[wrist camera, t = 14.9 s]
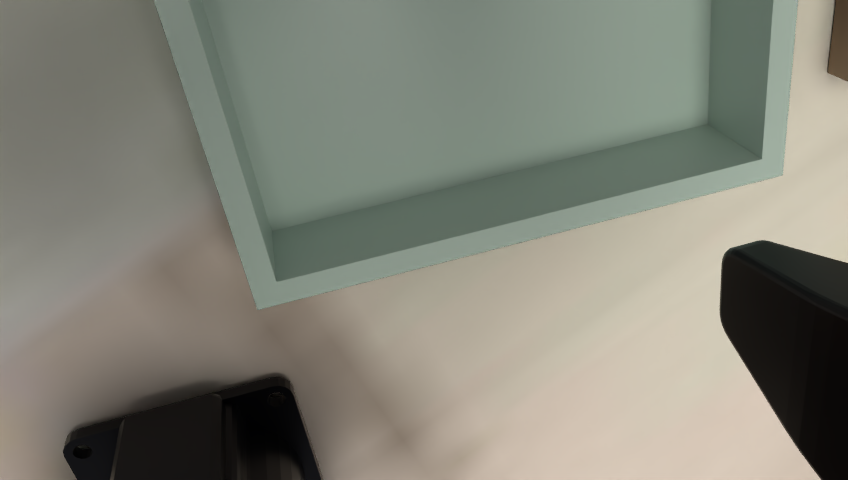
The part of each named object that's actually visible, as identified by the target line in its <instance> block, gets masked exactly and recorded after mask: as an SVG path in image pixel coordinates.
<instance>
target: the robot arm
mask: <svg viewBox="0 0 848 480" xmlns="http://www.w3.org/2000/svg"><path fill="white" fill-rule="evenodd" d="M720 318H721V322H722V326H723V328H724V331H725V333H726V334H727V336H728V338H729V340H730V341H731V343H732V344H733V346H734V348H735V349H736V351H737V352H738V354H739V356H740V357H741V359H742V360H743V362H744V364H745V365H746V367H747V369H748V370H749V372H750V373H751V375H752V377H753V378H754V380H755V381H756V383H757V385H758V386H759V388H760V390H761V391H762V393H763V394H764V396H765V398H766V399H767V401H768V402H769V404H770V406H771V407H772V409H773V411H774V412H775V414H776V415H777V417H778V419H779V420H780V422H781V423H782V425H783V427H784V428H785V430H786V431H787V433H788V434H789V436H790V437H791V439H792V440H793V442H794V443H795V445H796V446H797V448H798V449H799V451H800V452H801V453H802V455H803V456H804V457H805V459H806V460H807V462H808V463H809V464H810V466H811V467H812V468H813V470H814V471H815V472H816V473H817V475H818V476H819V477H820V479H821V480H848V263H845V262H842V261H838V260H834V259H831V258H827V257H824V256H820V255H816V254H813V253H809V252H806V251H802V250H798V249H795V248H791V247H788V246H784V245H781V244H777V243H773V242H770V241H765V240H761V241H755V242H752V243H748V244H744V245H740V246H737V247H733V248H730V249H729V250H728V251H727V252H726V253H725V254H724V256H723V259H722V269H721V291H720ZM273 393H281V394H283V395H282V396H280V397H275V398H273V397H271V396H270V395H271V394H273ZM79 445H86V446H89V447H90V448H88V449H82V448H79V447H78V446H79ZM63 454H64V457H65V459H66V461H67V462H68V464H69V466H70V468H71V470H72V471H73V473H74V475H75V477H76V478H77V480H323V477H322V474H321V471H320V468H319V465H318V462H317V459H316V456H315V453H314V450H313V447H312V444H311V441H310V438H309V434H308V431H307V428H306V425H305V422H304V419H303V416H302V413H301V410H300V407H299V404H298V401H297V398H296V395H295V392H294V389H293V386H292V384H291V383H290V381H288V380H287V379H285V378H281V377H273V378H268V379H265V380H261V381H257V382H253V383H250V384H246V385H242V386H238V387H235V388H231V389H227V390H223V391H220V392H216V393H212V394H207V395H204V396H200V397H196V398H192V399H189V400H185V401H181V402H177V403H174V404H170V405H166V406H162V407H159V408H155V409H151V410H147V411H144V412H140V413H136V414H132V415H129V416H126V417H122V418H118V419H115V420H111V421H107V422H103V423H100V424H96V425H92V426H88V427H85V428H81V429H77V430H75V431H73V432H71V433H70V434H69V435H68V436H67V439H66V442H65V446H64V450H63Z"/></svg>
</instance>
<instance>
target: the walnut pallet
mask: <svg viewBox="0 0 848 480" xmlns="http://www.w3.org/2000/svg"><path fill="white" fill-rule="evenodd" d="M828 73H829V74H832V75H834V76H836V77H839V78H841V79H843V80H846V81H848V0H836V4H835V13H834V22H833V31H832V40H831V48H830V57H829V66H828Z"/></svg>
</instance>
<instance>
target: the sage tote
mask: <svg viewBox="0 0 848 480" xmlns="http://www.w3.org/2000/svg"><path fill="white" fill-rule="evenodd" d="M154 3H155V6H156V9H157V12H158V15H159V18H160V21H161V24H162V27H163V30H164V33H165V36H166V39H167V42H168V44H169V47H170V50H171V53H172V56H173V59H174V62H175V65H176V68H177V71H178V74H179V77H180V80H181V83H182V86H183V89H184V92H185V95H186V98H187V101H188V104H189V107H190V110H191V113H192V116H193V119H194V122H195V125H196V128H197V131H198V134H199V137H200V140H201V143H202V146H203V149H204V152H205V155H206V158H207V161H208V164H209V167H210V170H211V173H212V176H213V179H214V182H215V185H216V188H217V191H218V194H219V197H220V199H221V202H222V205H223V208H224V211H225V214H226V217H227V220H228V223H229V226H230V229H231V232H232V235H233V238H234V241H235V244H236V247H237V250H238V253H239V256H240V259H241V262H242V265H243V268H244V271H245V274H246V277H247V280H248V283H249V286H250V289H251V292H252V295H253V298H254V301H255V304H256V307H257V310H260V309H264V308H268V307H272V306H275V305H279V304H283V303H287V302H291V301H295V300H299V299H303V298H307V297H311V296H314V295H318V294H322V293H326V292H330V291H334V290H338V289H342V288H346V287H349V286H353V285H357V284H361V283H365V282H369V281H373V280H377V279H381V278H385V277H388V276H392V275H396V274H400V273H404V272H408V271H412V270H416V269H420V268H424V267H427V266H431V265H435V264H439V263H443V262H447V261H451V260H455V259H459V258H463V257H466V256H470V255H474V254H478V253H482V252H486V251H490V250H494V249H498V248H501V247H505V246H509V245H513V244H517V243H521V242H525V241H529V240H533V239H537V238H540V237H544V236H548V235H552V234H556V233H560V232H564V231H568V230H572V229H576V228H579V227H583V226H587V225H591V224H595V223H599V222H603V221H607V220H611V219H615V218H618V217H622V216H626V215H630V214H634V213H638V212H642V211H646V210H650V209H653V208H657V207H661V206H665V205H669V204H673V203H677V202H681V201H685V200H689V199H692V198H696V197H700V196H704V195H708V194H712V193H716V192H720V191H724V190H728V189H731V188H735V187H739V186H743V185H747V184H751V183H755V182H759V181H763V180H766V179H770V178H774V177H778V176H782V175H783V166H784V154H785V143H786V131H787V120H788V109H789V97H790V86H791V75H792V63H793V52H794V41H795V29H796V18H797V7H798V0H154Z"/></svg>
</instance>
